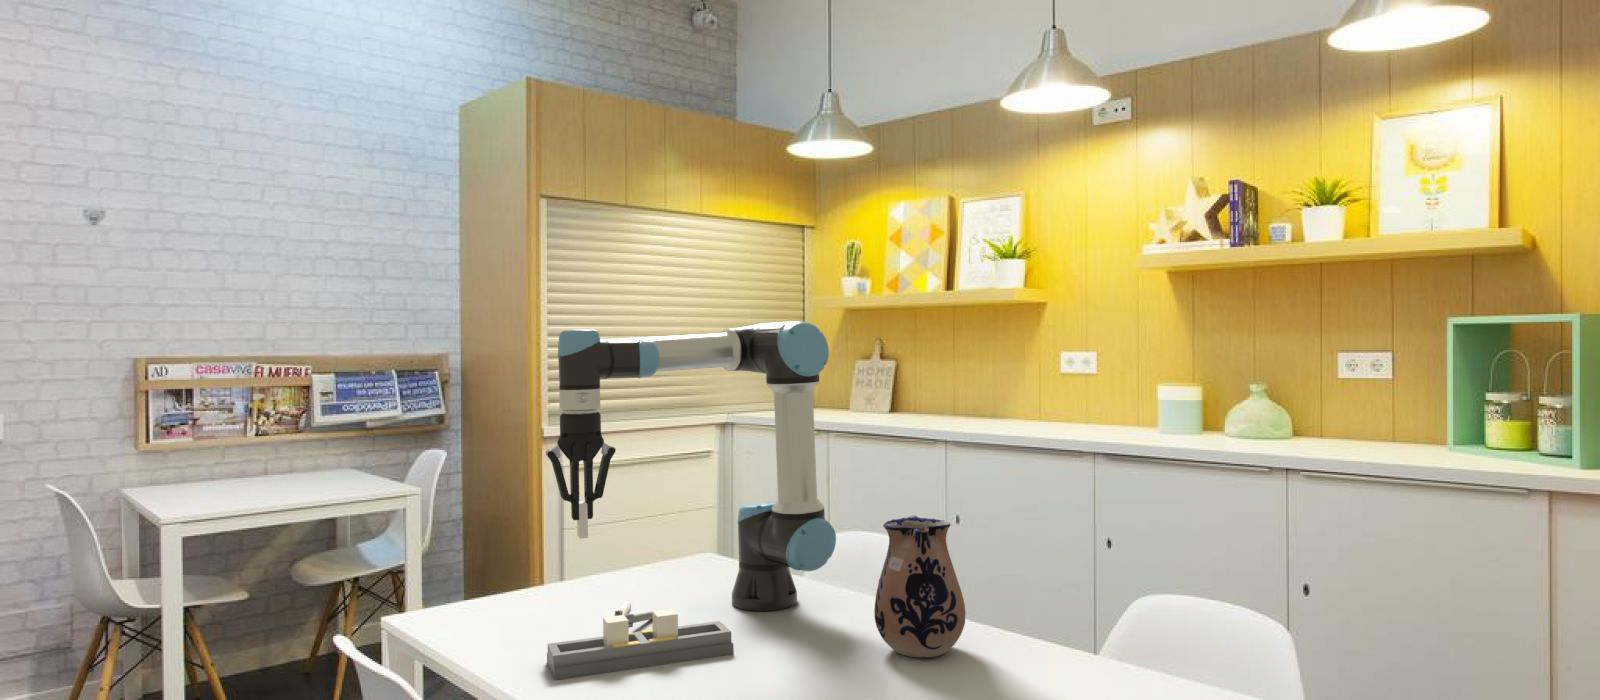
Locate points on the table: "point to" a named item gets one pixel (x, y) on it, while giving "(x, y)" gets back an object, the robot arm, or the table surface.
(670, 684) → the table surface
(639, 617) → the caliper
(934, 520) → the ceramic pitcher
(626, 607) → the marker
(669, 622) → the tab
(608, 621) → the tab
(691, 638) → the switch board
